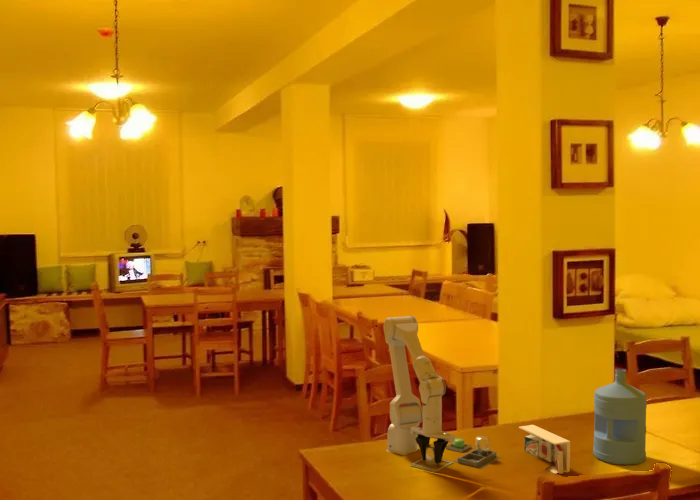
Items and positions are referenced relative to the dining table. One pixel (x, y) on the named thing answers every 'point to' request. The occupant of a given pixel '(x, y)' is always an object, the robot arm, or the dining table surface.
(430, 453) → the cylinder
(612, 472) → the dining table surface
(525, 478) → the dining table surface
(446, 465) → the tote tray
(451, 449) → the button housing
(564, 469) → the cigarette display
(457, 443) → the button
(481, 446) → the seated billet
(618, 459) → the water jug
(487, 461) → the grey pocketed tray
